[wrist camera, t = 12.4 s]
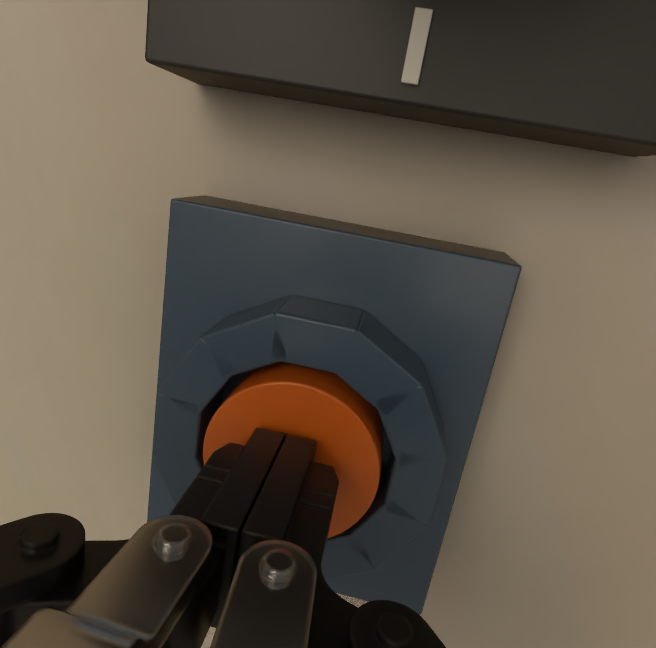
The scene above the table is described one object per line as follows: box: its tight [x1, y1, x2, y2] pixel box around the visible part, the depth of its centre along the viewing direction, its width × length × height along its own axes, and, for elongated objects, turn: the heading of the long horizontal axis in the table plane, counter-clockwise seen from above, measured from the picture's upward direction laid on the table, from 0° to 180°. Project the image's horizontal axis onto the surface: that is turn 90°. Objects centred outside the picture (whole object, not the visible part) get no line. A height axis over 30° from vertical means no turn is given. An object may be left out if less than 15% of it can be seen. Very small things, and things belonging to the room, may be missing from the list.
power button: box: [203, 361, 384, 538], centre depth 13 cm, size 4×4×2 cm
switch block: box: [147, 196, 521, 615], centre depth 15 cm, size 11×9×4 cm
